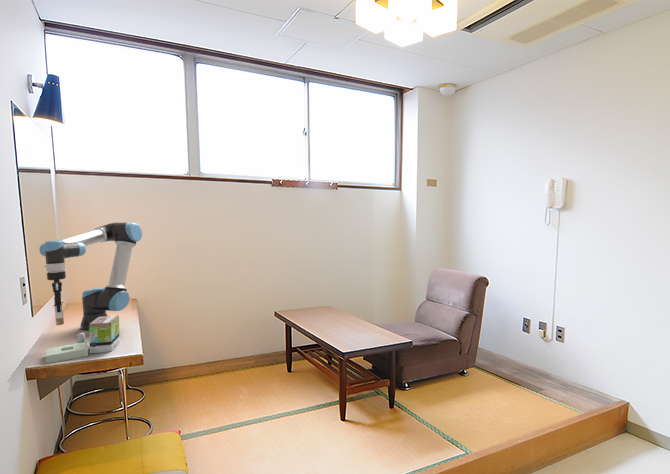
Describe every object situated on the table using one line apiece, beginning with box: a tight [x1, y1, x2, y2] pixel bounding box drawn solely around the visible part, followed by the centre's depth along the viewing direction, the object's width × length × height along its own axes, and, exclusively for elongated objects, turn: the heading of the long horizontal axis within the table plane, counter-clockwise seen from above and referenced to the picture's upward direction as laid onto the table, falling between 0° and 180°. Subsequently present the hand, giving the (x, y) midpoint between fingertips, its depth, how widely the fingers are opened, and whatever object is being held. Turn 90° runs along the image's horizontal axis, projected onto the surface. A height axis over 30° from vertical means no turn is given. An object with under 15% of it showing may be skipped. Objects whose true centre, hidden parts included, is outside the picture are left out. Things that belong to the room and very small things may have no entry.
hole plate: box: [45, 341, 89, 364], centre depth 182 cm, size 16×12×4 cm
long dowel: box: [53, 295, 65, 326], centre depth 193 cm, size 3×3×14 cm
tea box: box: [88, 315, 121, 354], centre depth 192 cm, size 15×10×15 cm
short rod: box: [76, 331, 86, 343], centre depth 194 cm, size 3×3×7 cm
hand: (59, 317), depth 193 cm, fingers closed on long dowel, 3 cm apart
